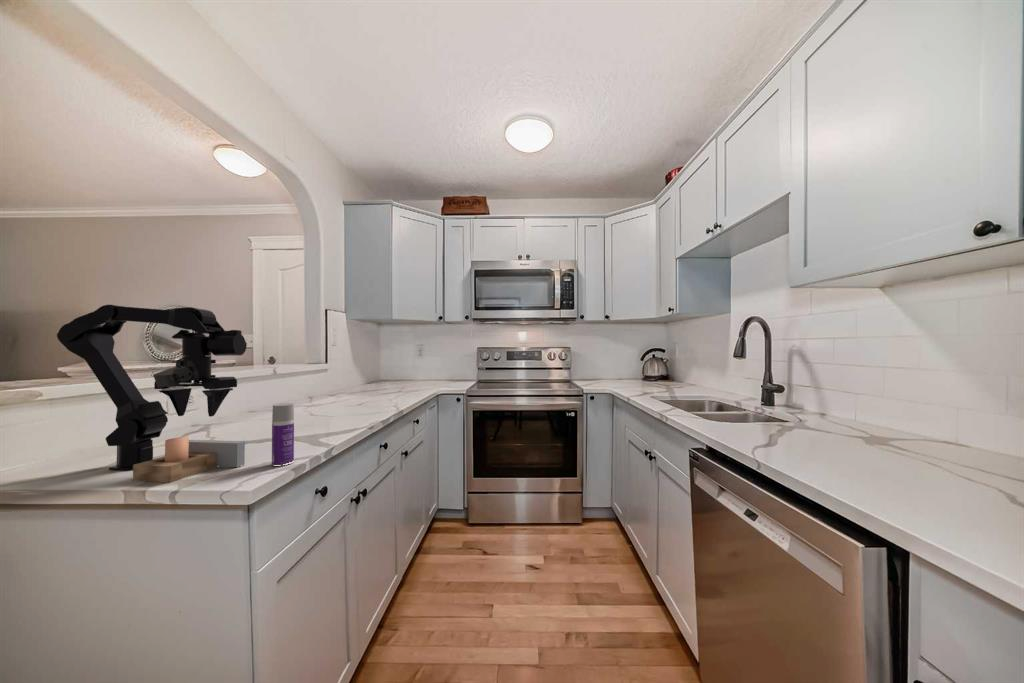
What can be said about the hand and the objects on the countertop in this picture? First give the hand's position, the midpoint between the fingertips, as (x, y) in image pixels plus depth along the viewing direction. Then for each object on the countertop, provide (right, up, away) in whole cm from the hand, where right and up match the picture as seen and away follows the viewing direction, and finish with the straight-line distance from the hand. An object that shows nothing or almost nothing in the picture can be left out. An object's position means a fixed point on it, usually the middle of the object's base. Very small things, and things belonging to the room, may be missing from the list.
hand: (196, 416), depth 90 cm
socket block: (+3, -12, -9) cm, 15 cm away
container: (+24, -12, -2) cm, 27 cm away
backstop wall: (+7, -12, -3) cm, 14 cm away
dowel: (+3, -12, -8) cm, 15 cm away
